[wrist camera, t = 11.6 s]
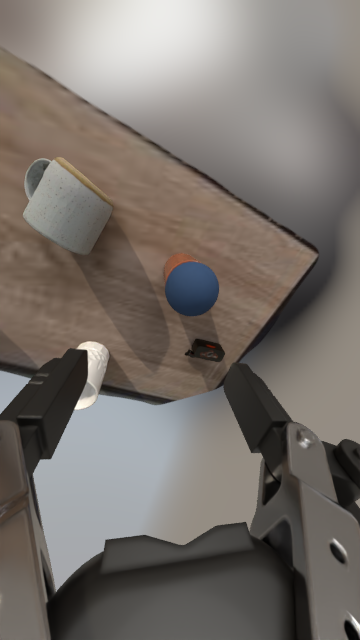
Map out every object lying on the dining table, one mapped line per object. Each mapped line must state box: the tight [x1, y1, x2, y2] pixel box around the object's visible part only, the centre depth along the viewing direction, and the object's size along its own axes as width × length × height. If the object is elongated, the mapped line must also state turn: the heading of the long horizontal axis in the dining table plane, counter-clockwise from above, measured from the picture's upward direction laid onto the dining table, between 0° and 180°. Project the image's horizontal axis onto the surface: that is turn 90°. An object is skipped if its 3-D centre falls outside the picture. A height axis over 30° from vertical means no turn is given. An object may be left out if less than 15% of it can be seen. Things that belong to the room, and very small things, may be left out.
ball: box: [165, 262, 219, 316], centre depth 20 cm, size 6×6×6 cm
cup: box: [164, 253, 200, 285], centre depth 26 cm, size 6×6×9 cm
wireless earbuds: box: [185, 339, 225, 362], centre depth 37 cm, size 5×7×3 cm, turn 71°
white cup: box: [74, 341, 110, 410], centre depth 31 cm, size 8×8×10 cm
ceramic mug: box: [23, 157, 113, 255], centre depth 21 cm, size 11×8×8 cm
